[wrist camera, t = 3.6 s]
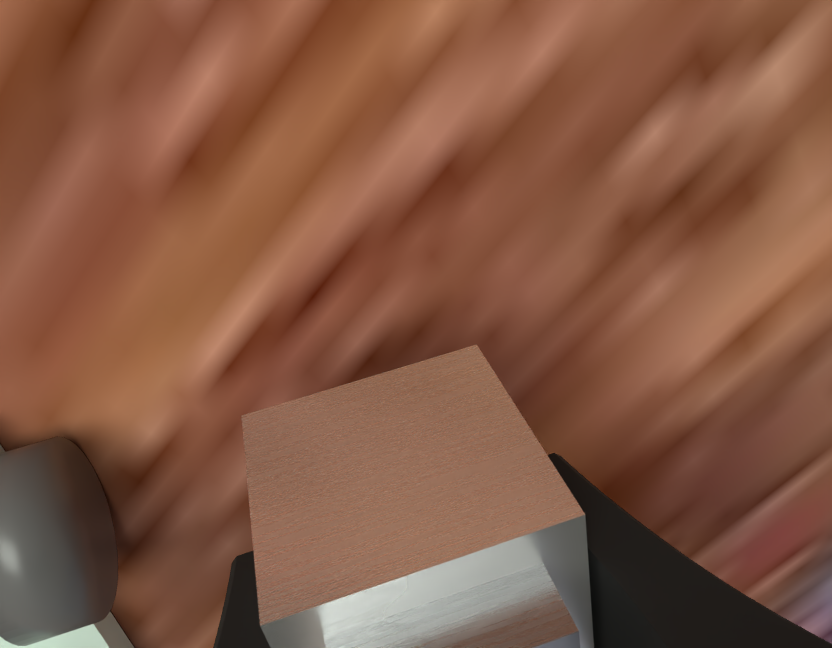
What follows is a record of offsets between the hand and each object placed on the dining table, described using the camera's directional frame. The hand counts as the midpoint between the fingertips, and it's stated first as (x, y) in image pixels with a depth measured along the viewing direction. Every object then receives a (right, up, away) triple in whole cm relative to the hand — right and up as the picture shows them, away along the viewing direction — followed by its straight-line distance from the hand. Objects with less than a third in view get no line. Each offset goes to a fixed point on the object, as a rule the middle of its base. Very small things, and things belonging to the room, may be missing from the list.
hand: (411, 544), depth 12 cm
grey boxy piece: (0, +1, +1) cm, 2 cm away
